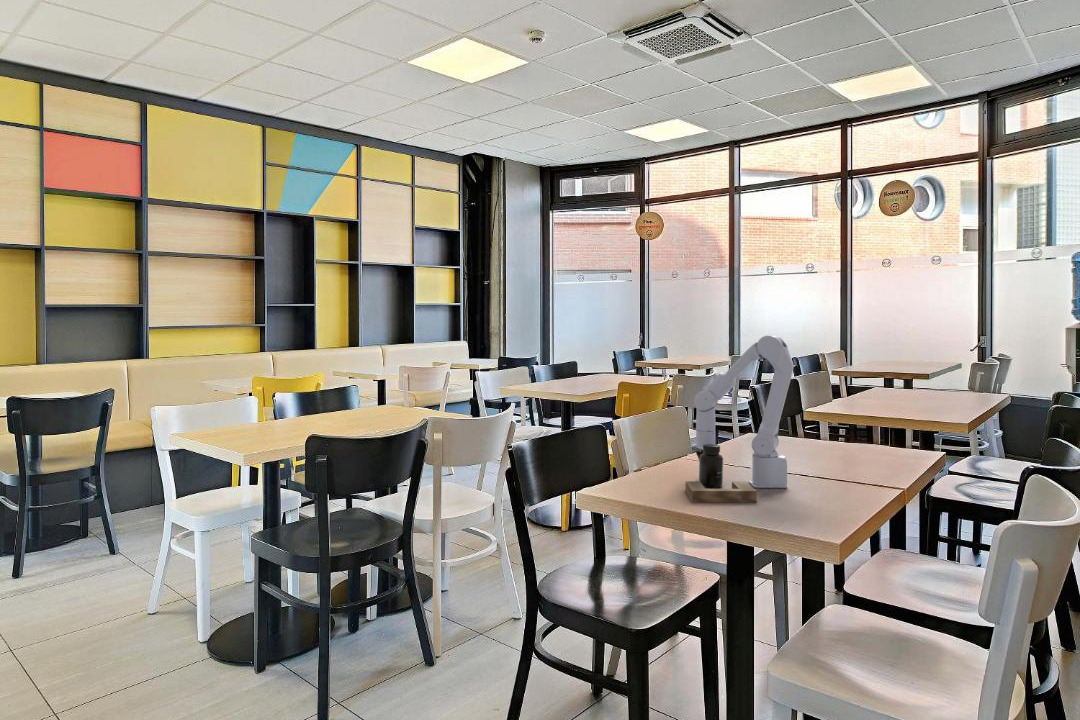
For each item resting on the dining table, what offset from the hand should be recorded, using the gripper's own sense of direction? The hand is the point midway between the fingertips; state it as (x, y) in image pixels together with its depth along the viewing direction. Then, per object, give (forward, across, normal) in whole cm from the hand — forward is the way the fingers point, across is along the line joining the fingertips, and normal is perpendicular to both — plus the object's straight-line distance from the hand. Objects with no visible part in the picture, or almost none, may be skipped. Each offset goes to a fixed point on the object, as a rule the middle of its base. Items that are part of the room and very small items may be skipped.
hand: (705, 474), depth 213 cm
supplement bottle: (+2, +8, 0) cm, 8 cm away
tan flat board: (+2, +21, 0) cm, 21 cm away
